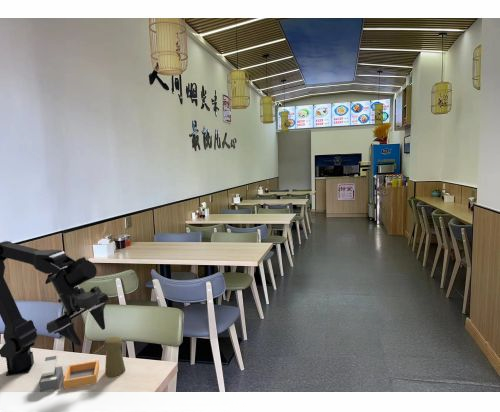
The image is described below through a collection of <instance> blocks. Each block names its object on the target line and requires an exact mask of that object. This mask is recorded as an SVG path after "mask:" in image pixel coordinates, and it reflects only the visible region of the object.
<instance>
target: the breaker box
mask: <svg viewBox="0 0 500 412" xmlns="http://www.w3.org/2000/svg"><path fill="white" fill-rule="evenodd" d="M63 377H64V369H63V366H56V367H55V372H54V374H53V375H47V376H42V375H41V376H40V378H39V381H38V386H39V392H41V393H42V392H45V391H51V390H57V389H60V387H61V383H62V380H63Z"/></svg>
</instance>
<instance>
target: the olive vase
mask: <svg viewBox="0 0 500 412" xmlns="http://www.w3.org/2000/svg"><path fill="white" fill-rule="evenodd" d="M103 343H104V344H103V349H104V350H105V352H106V353H105V370H104V376H105V377H107V378H111V379H112V378H117V377H120V376H121V375H123V374H125V372H126V366H125V362H124V357H123V355H122V354H123V353H122V350H121V349H122V345H123V343H122V338H120V337H119V336H111V337H108V338H107V339H106V340H104V341H103Z"/></svg>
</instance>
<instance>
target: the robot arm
mask: <svg viewBox="0 0 500 412" xmlns="http://www.w3.org/2000/svg"><path fill="white" fill-rule="evenodd" d="M7 259H10V260H14V261H17V262H21V263H25V264H28V265H32V266H33V267H34V268H35V270H37V271H38V272H41V273H43V274H46V275H47V277H46V280H45V282H44V283H45V285H49V284H50V283H51V284H52V286H53V288H54V290H55V292H56V293H57V295H58V298H59V299H57V302H58V303H62V305H63V307H64V309H65V311H63V313H64V314H62V315H60V316H58V317H56V318H54V319H53V320H50V321H49V322H47V323H46V331H47V332H48V334H51V333H53V334H59V335H60V336H63V337H64V338H66V339H68V340H69V341H70V342H71V343H73V344H75V345H76V346H78V347H80V346H82V343H81V340H80V337H79V335H78V334H77V332H76V331H75V328H74V322H71V321H72V320H73V319H74V318H77V317H78V316H80V315H82V314H84V313H85V312H87V311H88V310H89V309H90V310H89V313H90V315H91V316H92V317H93V319H94V321H95V323H97V325H98V326H99V328H100V329H101V330H103V331H104V330H105V329H106V323H105V311H104V310H105V308H106V305H108V302H107V301H109V300H110V298H109V296H108V294H107V293H105V292H102V290H101V288H100V287H99V285H98V286H97V285H95V286H93V287H91V288H90V290H89V291H87V292H86V291H85V289H84V288H83V287H79V286H81V285H82V284H85V283H86V282H88V281H90V280H92V279H94V278H95V277H96V276H97V273H98V272H97V267H96V265H95V264H94V263H93V261H91V260H88V259H86V257H85V256H82V257H80V258H78V259H75V258H73V257H71V256H70V255H68V254H66V252H65V251H64V250H62V249H37V248H34V247H30V246H26V245H23V244H17V243H13V242H12V241H8V240H5V241H1V242H0V317H1V320H2V322H3V325H4V331H3V336H2V337H3V341H4V344H3V345H2V346H1V348H0V357H1V358H5V361H6V367H7V372H6V373H5V376H6V377H9V376H14V375H15V376H16V375H20V374H26V373H29V372H30V371H31V369H32V367H33V365H34V364H35V360H34V359H35V358H34V352H33V351H32V350H31V347H33V346H35V345H36V341H37V338H38V333H37V332H38V329H37V328H36V327H35V324H34V321H33V320H32V319H30V320H27V319H25V318H24V317H23V316H22V314H21V312H20V310H19V307H18V305H17V303H16V300H15V299H14V296H13V293H12V292H11V291H10V290H11V289H10V288H9V286H8V283H7V281H6V279H5V270H6V265H5V261H6V260H7Z"/></svg>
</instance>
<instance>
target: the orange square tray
mask: <svg viewBox="0 0 500 412" xmlns="http://www.w3.org/2000/svg"><path fill="white" fill-rule="evenodd" d="M99 370H100V362H99V360H92V361H87V362H86V361H85V362H81V363H75V364H68V366H67V369H66V372H65V375H64V378H63V388H64V390H66V389H72V388H77V387H83V386H89V385H93V384H97V382H98V378H99V373H100V371H99Z"/></svg>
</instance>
